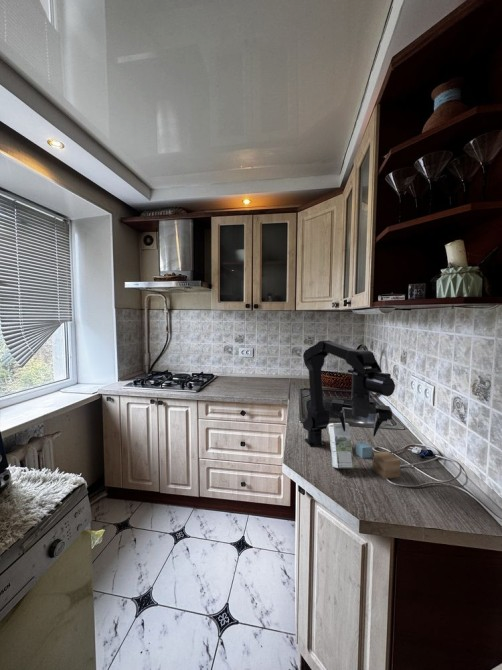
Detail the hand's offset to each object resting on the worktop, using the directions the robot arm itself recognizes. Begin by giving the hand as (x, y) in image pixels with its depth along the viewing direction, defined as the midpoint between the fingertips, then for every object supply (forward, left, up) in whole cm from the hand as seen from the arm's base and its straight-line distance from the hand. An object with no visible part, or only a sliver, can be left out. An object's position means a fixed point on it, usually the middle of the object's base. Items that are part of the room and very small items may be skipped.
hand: (358, 433), depth 89 cm
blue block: (-10, +9, -13) cm, 19 cm away
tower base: (+3, +9, -14) cm, 16 cm away
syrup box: (-1, -5, -12) cm, 13 cm away
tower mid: (+3, +9, -11) cm, 14 cm away
